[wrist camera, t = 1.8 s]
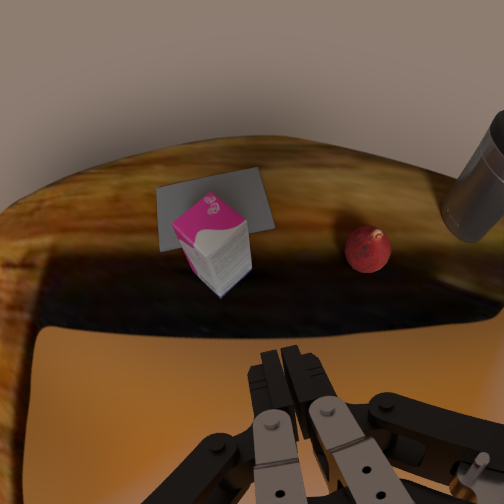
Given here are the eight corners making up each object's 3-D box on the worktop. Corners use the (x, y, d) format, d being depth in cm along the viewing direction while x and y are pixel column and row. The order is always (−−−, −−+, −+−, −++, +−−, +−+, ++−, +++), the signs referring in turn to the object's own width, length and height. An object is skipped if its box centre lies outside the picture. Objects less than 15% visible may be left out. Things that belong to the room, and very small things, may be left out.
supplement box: (254, 268, 42) (249, 221, 32) (220, 299, 40) (204, 261, 30) (223, 241, 44) (210, 189, 34) (191, 269, 42) (167, 224, 32)
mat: (257, 169, 49) (257, 167, 49) (274, 228, 44) (274, 226, 44) (157, 190, 48) (156, 188, 48) (161, 251, 43) (159, 250, 43)
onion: (359, 290, 40) (378, 265, 33) (330, 258, 42) (342, 226, 35) (388, 265, 41) (410, 236, 34) (360, 235, 43) (376, 202, 36)
